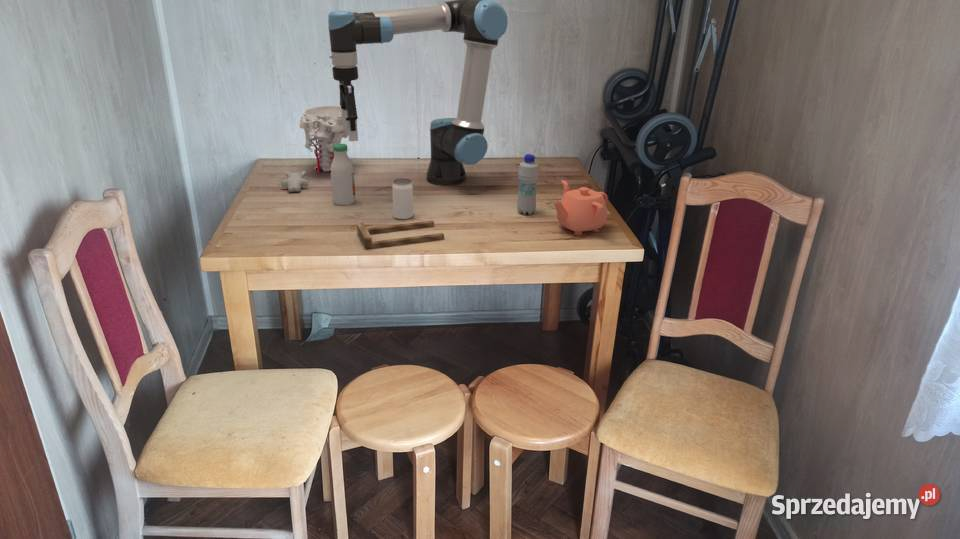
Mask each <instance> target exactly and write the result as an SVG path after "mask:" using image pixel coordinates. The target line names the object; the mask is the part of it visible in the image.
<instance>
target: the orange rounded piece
mask: <svg viewBox="0 0 960 539" xmlns="http://www.w3.org/2000/svg"><path fill="white" fill-rule="evenodd" d="M560 181H561V183H562V187H563V194H562V197H561V199H560V200H559V199H558V200H554V201H553V204H554V207H555V212H556V219H557V220H558V223H559V224H560V225H561V228H563V229H568V230H570V231H573V235H575V236H579V237H580V236H582V235H583V232H589V231H591V232H594V233H598V232H600V228H603V226H604V225H606V223H607V220H608V209H607V202H608V195H607V194H606V192H603V191H596V190H593V189H592V188H588V187H586V186H582V187H579V188H578V189H571V188H570V185H569V184H568V182H567V181H566V180H564V179H560Z"/></svg>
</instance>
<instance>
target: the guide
mask: <svg viewBox="0 0 960 539" xmlns="http://www.w3.org/2000/svg"><path fill="white" fill-rule="evenodd" d="M433 227H435V221H434V220H426V221H419V222H410V223H399V224H392V225H385V226H384V225H382V226H376V227H368V228H367V227H366V225H365V223H364V222H357V223H356V230H357V236H358V238H359V239H360V242H361V245H363V247H364V249H366V250H371V249H380V248H387V247H395V246H403V245H412V244H418V243H426V242H435V241H441V240H445V234H444V233H443V232H440V233H432V234H431V233H430V234H424V235H415V236H407V237H400V238H392V239H384V240H377V241H373V239H372V236H371V235H375V234H377V235H378V234H383V233H384V234H385V233H391V232H400V231H401V232H402V231H408V230H411V231H412V230H417V229H425V228H433Z"/></svg>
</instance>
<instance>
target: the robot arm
mask: <svg viewBox="0 0 960 539" xmlns="http://www.w3.org/2000/svg"><path fill="white" fill-rule="evenodd" d="M508 20H509V19H508V16H507V11H506V10H505V8H504V7H503V6H502V5H501V4H500V3H499V2H497V1H494V0H450V1H449V0H448V1H441V2H440V3H439V5H432V6H423V7H422V6H421V7H414V8H413V7H410V8H401V9H390V10H378V11H370V12H368V11H367V12H359V13H358V12H353V11H351V10H333V11H332V10H331V11H330V12H329V13H328V20H327V21H328V23H327V24H328V28H327V29H328V32H329V42H330V52H331V54H329V58H330V59H331V64H332V66H333V67H332V77H333V78H332V79H334V80H335V81H338V82H339V84H338V87H339V106H341V109H343V110H341V112H342V124H343V130H348V134H349V135H348V142H359V136H358V135H359V134H358V133H359V132H358V122H357V121H358V119H359V116H358V112H357V104H356V98H355V97H356V96H355V86H354V85H353V84H352V81H357V80H358V79H359V70H358V53H357V52H358V50H357V45H368V44H372V45H373V44H381V45H382V44H385V43H390V42H392V41H393V39H394V35H402V34H411V33H412V34H413V33H420V32H422V33H423V32H430V31H439V30H441V31H442V32H444V33H450V32H451V33H453V32H455V33H459V34H463V38H462V40H463V42H464V44H465V45H466V51H465V58H464V64H463V65H464V66H463V70H462V71H463V74H462V80H461V87H460V94H459V98H458V99H459V101H458V108H457V114H456V117H445V118H443V117H442V118H436V119H433V120H431V122H430V126H429V127H430V128H429V134H430V135H429V137H430V140H429V141H430V161H429V164H428V167H427V171H426V175H425V176H426V181H427V182H428V183H430V184H433V185H438V186H456V185H459V184H460V185H461V184H463V183H465V182H466V181H467V172H466V169H465V167H464V166H465V165H466V166H467V165H468V166H470V165H475V164H478V163H479V162H480V161H481V160H482V159H484V158H485V155H486V154H487V151H488V148H489V147H488V145H489V144H488V141H487V139H486V137H485V136H484V135H485V134H484V132H485V126H484V124H483V123H482V122H483V121H482V119H483V118H482V117H483V112H484V105H485V98H486V93H487V86H488V79H489V74H490V66H491V60H492V53H493V50H495V49H496V48H497V47H498V44H499V39H500V38H502V37H503V35H504V34H506V32H507V28H508Z"/></svg>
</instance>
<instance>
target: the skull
mask: <svg viewBox="0 0 960 539" xmlns="http://www.w3.org/2000/svg"><path fill="white" fill-rule="evenodd" d="M341 110H343V109H341V106H340V105H321V106H320V105H319V106H314V107H310V108H307V109H304V110H303V115H301V116H300V121H299V128H300V129H303V130H304V134H305V145H304V147H305V148H306V149H307V150H309V151H310V152H314V156H315V157H316V166H315V167H314V168H313V169H314V170H317V171H316V172H317V174H320V171H321V170H322V171H323V172H324V173H329V171H331V164H332V162H333V159H334V152H333V151H334V150H333V145H335V144H342V143H341V142H342V139H343V138H344V139H347V138H349V134H348V130H343V124H342V112H341ZM314 141H315V142H314ZM312 147H314V149H312ZM316 168H317V169H316Z"/></svg>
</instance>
